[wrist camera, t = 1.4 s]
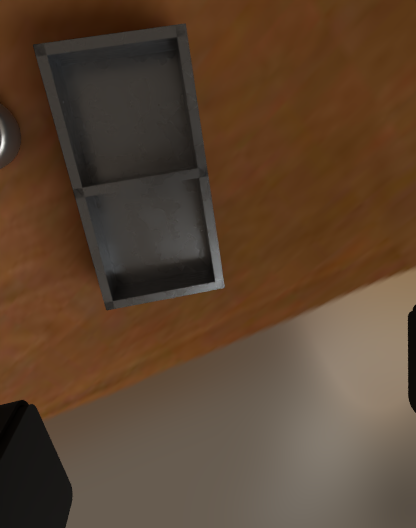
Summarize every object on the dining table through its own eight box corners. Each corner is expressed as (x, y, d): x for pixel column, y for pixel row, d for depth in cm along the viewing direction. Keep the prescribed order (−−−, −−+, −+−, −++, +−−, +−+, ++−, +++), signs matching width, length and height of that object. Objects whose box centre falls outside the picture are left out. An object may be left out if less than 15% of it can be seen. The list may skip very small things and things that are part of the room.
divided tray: (52, 60, 31) (32, 44, 26) (182, 41, 32) (185, 23, 27) (113, 290, 38) (106, 310, 34) (217, 270, 39) (224, 287, 35)
